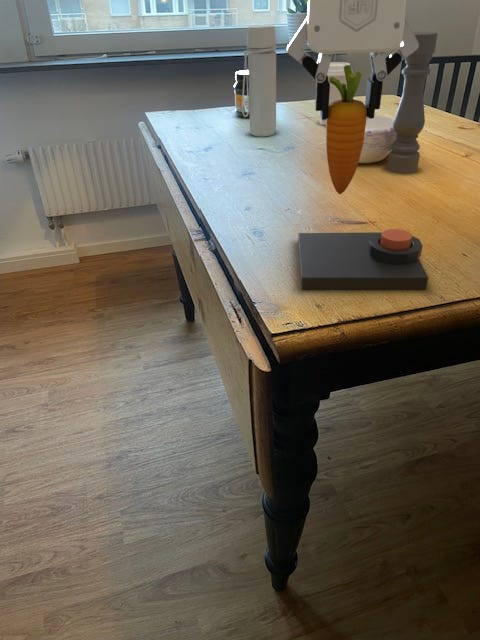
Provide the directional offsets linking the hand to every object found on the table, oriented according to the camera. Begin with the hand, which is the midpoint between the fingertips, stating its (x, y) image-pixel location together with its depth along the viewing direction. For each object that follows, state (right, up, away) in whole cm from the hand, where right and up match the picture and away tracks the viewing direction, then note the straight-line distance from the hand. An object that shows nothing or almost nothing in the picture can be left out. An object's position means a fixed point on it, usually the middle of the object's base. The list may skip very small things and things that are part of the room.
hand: (346, 115), depth 60 cm
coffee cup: (+13, +31, +82) cm, 89 cm away
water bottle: (-7, +25, +74) cm, 79 cm away
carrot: (0, -8, +6) cm, 10 cm away
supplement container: (-9, +38, +94) cm, 102 cm away
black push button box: (+4, -17, +11) cm, 20 cm away
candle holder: (+21, +7, +46) cm, 51 cm away
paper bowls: (+15, +12, +54) cm, 57 cm away
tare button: (+9, -14, +9) cm, 19 cm away
